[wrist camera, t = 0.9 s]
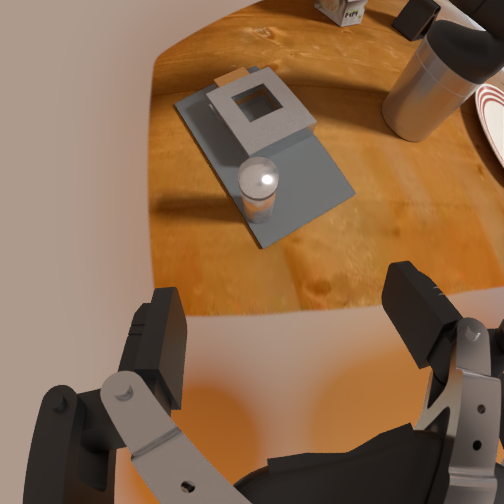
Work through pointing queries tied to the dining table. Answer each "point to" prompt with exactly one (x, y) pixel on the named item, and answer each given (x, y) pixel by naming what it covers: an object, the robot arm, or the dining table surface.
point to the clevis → (267, 127)
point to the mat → (287, 162)
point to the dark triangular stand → (416, 18)
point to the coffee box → (342, 10)
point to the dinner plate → (492, 117)
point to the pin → (258, 188)
